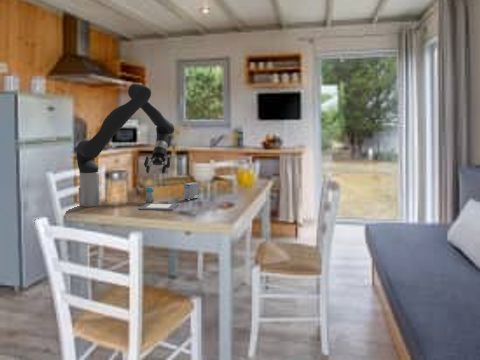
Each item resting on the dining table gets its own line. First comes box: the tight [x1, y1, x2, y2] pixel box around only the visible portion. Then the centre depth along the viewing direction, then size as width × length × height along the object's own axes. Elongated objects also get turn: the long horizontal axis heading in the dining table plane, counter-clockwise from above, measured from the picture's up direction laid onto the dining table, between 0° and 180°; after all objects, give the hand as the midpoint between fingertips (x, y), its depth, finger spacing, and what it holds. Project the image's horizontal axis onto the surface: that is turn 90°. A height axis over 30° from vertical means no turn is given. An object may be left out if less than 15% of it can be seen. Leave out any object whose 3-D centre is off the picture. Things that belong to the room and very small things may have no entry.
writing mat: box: [138, 202, 179, 211], centre depth 231 cm, size 17×13×1 cm
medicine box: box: [183, 182, 200, 200], centre depth 254 cm, size 8×4×9 cm, turn 144°
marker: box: [145, 186, 155, 204], centre depth 243 cm, size 4×4×8 cm
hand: (155, 172), depth 253 cm, fingers open, 8 cm apart
